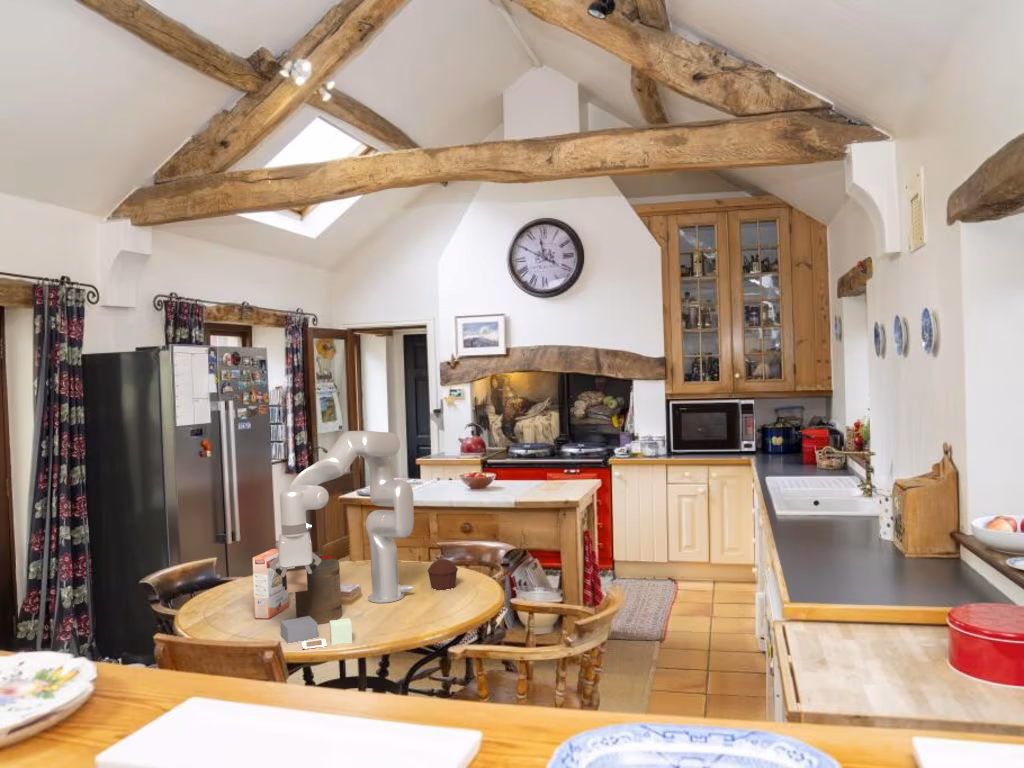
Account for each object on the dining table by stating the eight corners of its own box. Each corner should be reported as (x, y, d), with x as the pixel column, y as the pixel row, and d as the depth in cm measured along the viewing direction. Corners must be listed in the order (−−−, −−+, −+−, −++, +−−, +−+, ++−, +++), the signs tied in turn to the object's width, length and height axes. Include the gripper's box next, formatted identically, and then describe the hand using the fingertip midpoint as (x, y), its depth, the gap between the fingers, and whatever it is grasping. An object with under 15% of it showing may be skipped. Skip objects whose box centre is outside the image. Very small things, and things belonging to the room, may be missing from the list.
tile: (325, 639, 241) (325, 637, 241) (326, 646, 234) (326, 645, 234) (301, 642, 239) (301, 641, 239) (302, 650, 232) (302, 648, 232)
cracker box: (270, 619, 264) (267, 557, 264) (254, 619, 265) (250, 557, 265) (290, 607, 278) (287, 547, 278) (274, 606, 279) (271, 548, 279)
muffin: (461, 589, 290) (459, 562, 289) (431, 593, 287) (429, 565, 287) (455, 581, 301) (454, 555, 301) (426, 585, 298) (425, 558, 298)
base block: (309, 631, 250) (309, 615, 250) (317, 638, 243) (317, 622, 242) (281, 637, 246) (280, 621, 246) (288, 645, 238) (287, 628, 238)
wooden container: (349, 611, 269) (346, 547, 269) (329, 625, 255) (326, 557, 254) (309, 610, 272) (306, 547, 272) (288, 624, 258) (284, 557, 258)
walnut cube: (306, 585, 248) (305, 566, 248) (307, 590, 242) (306, 570, 242) (287, 588, 246) (286, 568, 246) (287, 592, 240) (286, 573, 240)
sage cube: (350, 637, 242) (349, 618, 242) (352, 643, 236) (351, 623, 236) (330, 640, 240) (329, 620, 240) (332, 646, 234) (330, 626, 234)
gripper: (321, 524, 250) (324, 581, 250) (265, 530, 245) (268, 588, 245) (323, 528, 243) (326, 587, 243) (264, 534, 238) (267, 594, 238)
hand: (297, 587), depth 244 cm, fingers closed on walnut cube, 6 cm apart
